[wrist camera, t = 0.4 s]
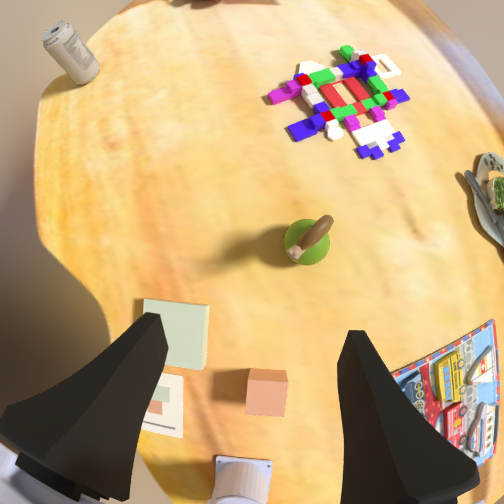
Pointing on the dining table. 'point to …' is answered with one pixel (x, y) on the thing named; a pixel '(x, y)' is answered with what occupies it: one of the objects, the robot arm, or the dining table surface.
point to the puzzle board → (459, 391)
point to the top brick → (266, 392)
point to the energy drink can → (71, 52)
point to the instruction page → (166, 407)
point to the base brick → (183, 331)
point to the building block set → (315, 78)
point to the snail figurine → (308, 240)
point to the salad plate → (489, 195)
